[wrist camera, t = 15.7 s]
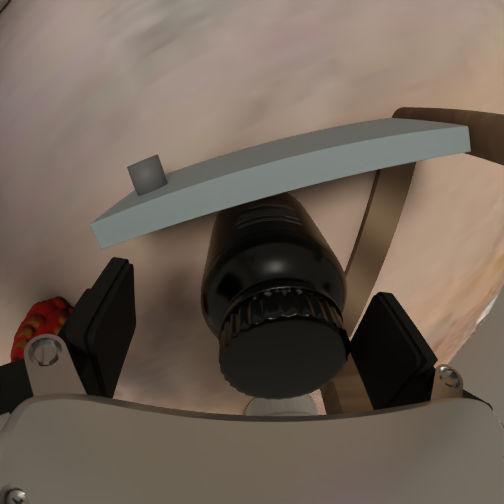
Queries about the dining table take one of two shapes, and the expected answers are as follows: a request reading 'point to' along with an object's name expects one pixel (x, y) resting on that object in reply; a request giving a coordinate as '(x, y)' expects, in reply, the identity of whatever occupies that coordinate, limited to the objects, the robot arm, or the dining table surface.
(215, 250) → the supplement bottle
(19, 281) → the dining table surface
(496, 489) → the robot arm
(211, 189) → the door
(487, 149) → the door frame
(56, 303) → the red clay folk toy
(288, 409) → the ramekin
